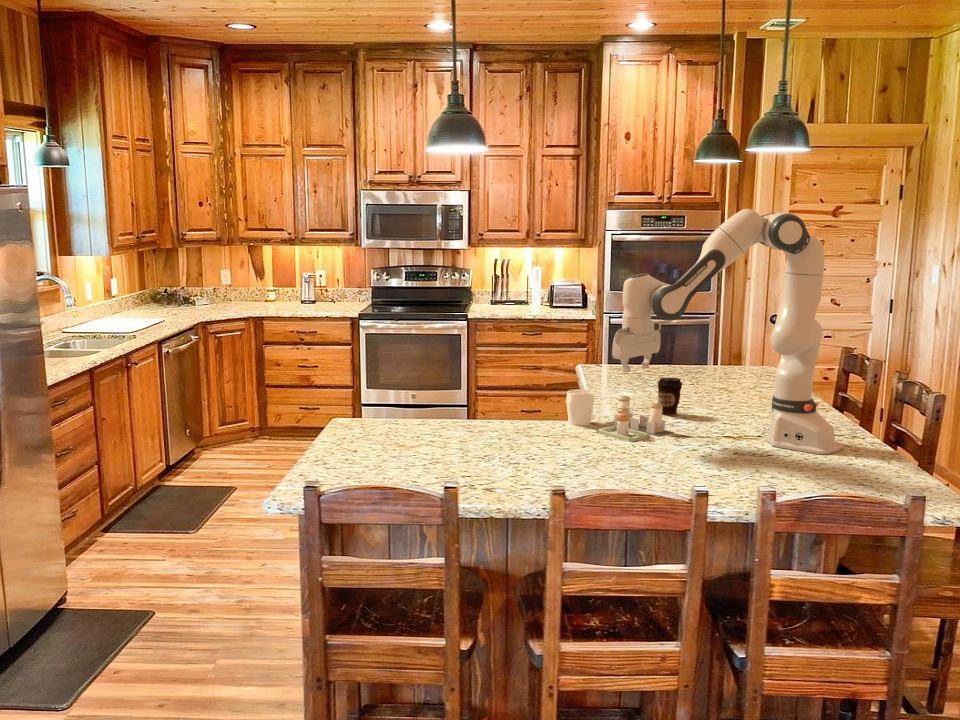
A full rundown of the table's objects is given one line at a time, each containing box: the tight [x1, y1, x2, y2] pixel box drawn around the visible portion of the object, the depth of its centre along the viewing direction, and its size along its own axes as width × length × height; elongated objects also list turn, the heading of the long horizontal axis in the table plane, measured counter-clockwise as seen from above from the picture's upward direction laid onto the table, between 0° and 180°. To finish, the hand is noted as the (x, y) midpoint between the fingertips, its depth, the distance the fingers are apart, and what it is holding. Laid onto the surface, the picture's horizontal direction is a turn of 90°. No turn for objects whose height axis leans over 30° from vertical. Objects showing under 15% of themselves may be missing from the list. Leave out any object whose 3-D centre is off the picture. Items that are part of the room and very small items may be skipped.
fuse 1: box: [617, 395, 631, 410], centre depth 284 cm, size 4×4×9 cm
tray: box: [596, 425, 650, 443], centre depth 271 cm, size 14×9×2 cm, turn 42°
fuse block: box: [605, 411, 675, 438], centre depth 280 cm, size 22×8×5 cm, turn 42°
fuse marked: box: [616, 408, 630, 437], centre depth 271 cm, size 4×4×9 cm
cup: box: [565, 388, 595, 427], centre depth 285 cm, size 9×9×12 cm
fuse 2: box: [649, 402, 663, 433], centre depth 274 cm, size 4×4×9 cm
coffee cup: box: [657, 377, 683, 417], centre depth 303 cm, size 9×8×13 cm
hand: (636, 370), depth 269 cm, fingers open, 8 cm apart
